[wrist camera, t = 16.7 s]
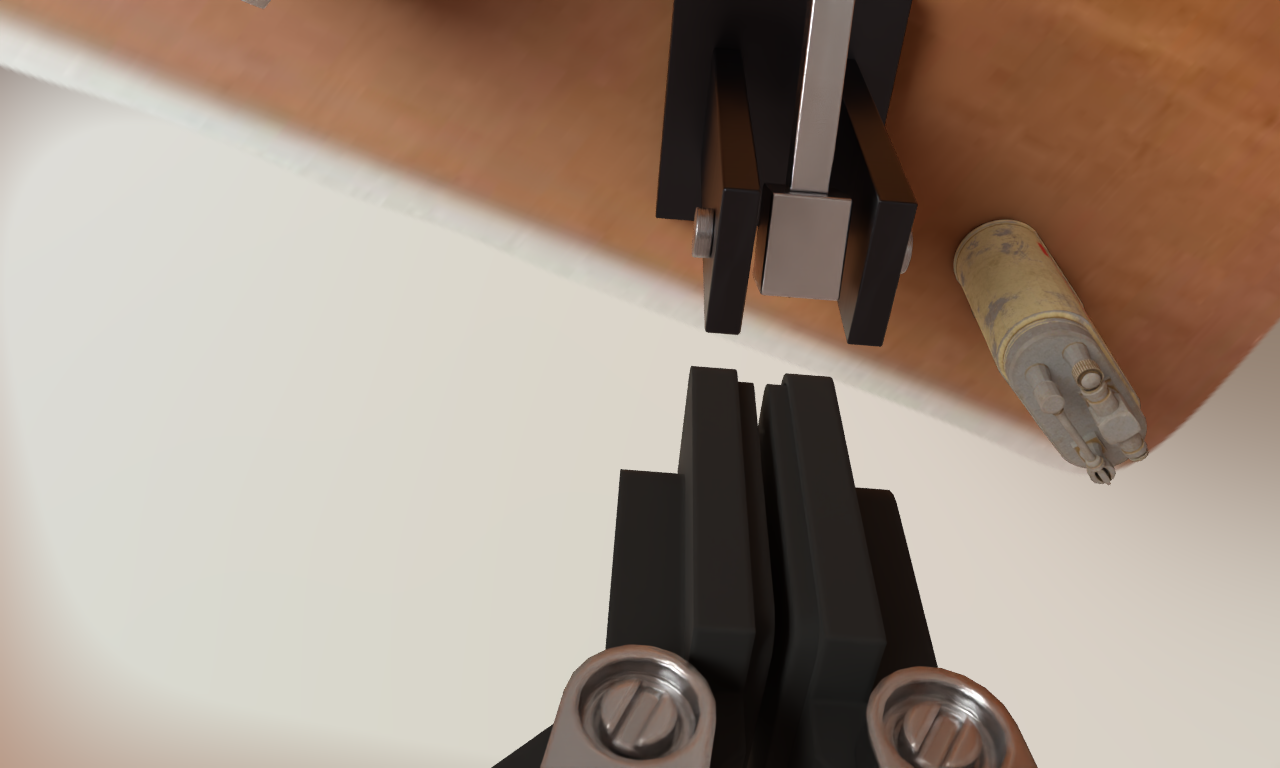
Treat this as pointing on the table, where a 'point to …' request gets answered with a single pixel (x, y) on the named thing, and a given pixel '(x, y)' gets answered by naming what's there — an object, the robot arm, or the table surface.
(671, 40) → the black upright stand
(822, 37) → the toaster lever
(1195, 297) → the table surface
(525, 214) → the table surface
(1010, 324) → the lighter
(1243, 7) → the table surface
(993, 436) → the table surface
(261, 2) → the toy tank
